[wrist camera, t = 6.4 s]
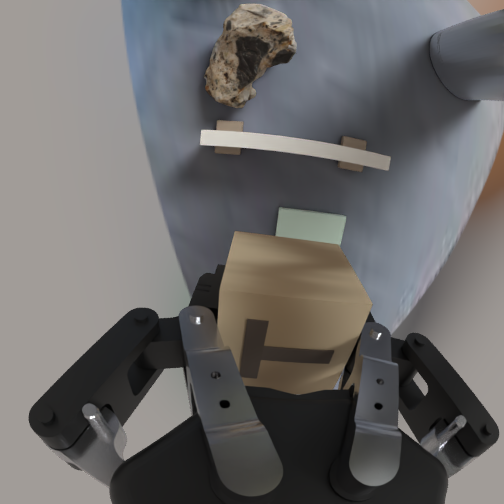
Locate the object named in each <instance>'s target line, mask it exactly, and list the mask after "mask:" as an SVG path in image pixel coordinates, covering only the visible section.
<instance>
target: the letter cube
mask: <svg viewBox="0 0 504 504" xmlns="http://www.w3.org/2000/svg"><path fill="white" fill-rule="evenodd" d="M372 305H373V304H372V302H371V300H370V298H369V297H368V295H367V293H366V291H365V289H364V288H363V286H362V284H361V282H360V280H359V279H358V277H357V275H356V273H355V272H354V270H353V268H352V267H351V265H350V263H349V261H348V260H347V258H346V256H345V255H344V253H343V251H342V250H341V248H340V246H339V245H338V244H332V243H325V242H317V241H310V240H302V239H295V238H287V237H279V236H271V235H263V234H255V233H247V232H239V231H235V233H234V237H233V240H232V244H231V248H230V252H229V255H228V259H227V263H226V267H225V270H224V274H223V278H222V282H221V286H220V291H219V306H218V323H217V326H218V329H219V332H220V335H221V338H222V341H223V344H224V346H229V347H230V349H231V351H232V354H233V357H234V359H235V362H236V365H237V367H238V370H239V373H240V375H241V378H242V380H243V383H244V385H245V386H254V387H266V388H272V389H275V390H279V391H283V392H287V393H291V394H306V393H311V392H316V391H321V390H333V388H334V386H335V385H336V383H337V381H338V379H339V377H340V375H341V373H342V371H343V369H344V367H345V365H346V363H347V361H348V359H349V357H350V355H351V353H352V351H353V349H354V346H355V344H356V342H357V340H358V338H359V336H360V333H361V331H362V329H363V326H364V324H365V322H366V319H367V317H368V315H369V312H370V310H371V307H372Z"/></svg>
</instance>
